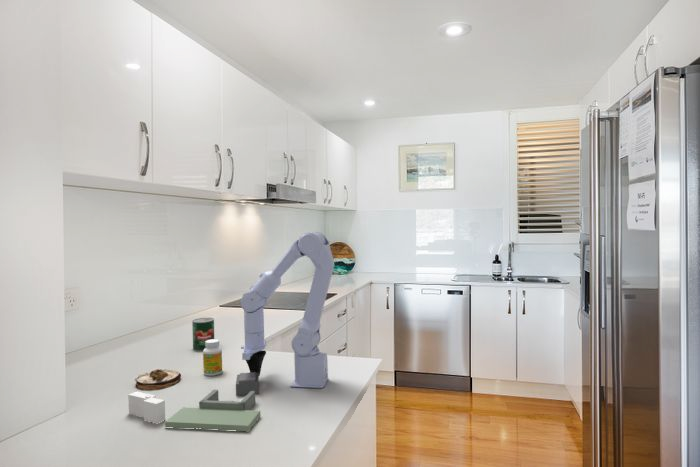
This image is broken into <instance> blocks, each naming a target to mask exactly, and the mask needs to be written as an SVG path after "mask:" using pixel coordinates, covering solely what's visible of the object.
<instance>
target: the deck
mask: <svg viewBox="0 0 700 467" xmlns="http://www.w3.org/2000/svg"><path fill="white" fill-rule="evenodd" d="M244 396H245V397H244V398H243V397H242V400H241V401H234V400H233V401H231V400H220V399H219V389H213V390H212V391H210V392H209V393H208V394H207V395H206V396H205V397H203V398H202V399H200V401H199V402H198V406H199V407H186V406H185V407H182V408H181V409H179V410H178V411H176V412H175V413H174V414H173V415H172V416H170V417H169V418H167V419H166V420H165V421H164V428H165V427H173V428H194V429H196V428H198V429H199V428H201V429H218V430H236V431H246V432H245V433H248V432H247V431H249V430H250V429H252V428H253V427H254V426H255V424H256V423H257V422H258V421H257V419H258V418H259V417H260V416H261V410H251V409H252V408H253V406H254V405H255V404H256V394H255V391H250V392H249V393H248V394H247V395H244ZM254 403H255V404H254ZM253 404H254V405H253ZM260 418H261V417H260ZM260 418H259V419H260ZM259 419H258V420H259ZM256 421H257V422H256ZM255 422H256V423H255ZM254 423H255V424H254ZM253 425H254V426H253ZM252 426H253V427H252ZM251 427H252V428H251ZM250 431H251V430H250ZM250 431H249V432H250Z"/></svg>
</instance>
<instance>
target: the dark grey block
mask: <svg viewBox="0 0 700 467" xmlns="http://www.w3.org/2000/svg"><path fill="white" fill-rule="evenodd" d="M259 377H260V376H259V373H256V372H250V371H249V372H242V373H241V372H240V373H239V374H237V375H236V381H235V397H243V396H246V395H247V394H248V393H249V392H250V391H255V395H260V394H259V393H260V390H259V389H260V383H259V382H260V380H259V379H260V378H259Z"/></svg>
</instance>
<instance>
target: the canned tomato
mask: <svg viewBox="0 0 700 467" xmlns="http://www.w3.org/2000/svg"><path fill="white" fill-rule="evenodd" d="M191 322H192V324H191V325H192V350H193V352H198V353H199V352H201V353H202V352H203V350H204V349H205V348H206V346H205V341H207V340H211V339H215V318H213V317H199V318H195V319H192V321H191Z"/></svg>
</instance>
